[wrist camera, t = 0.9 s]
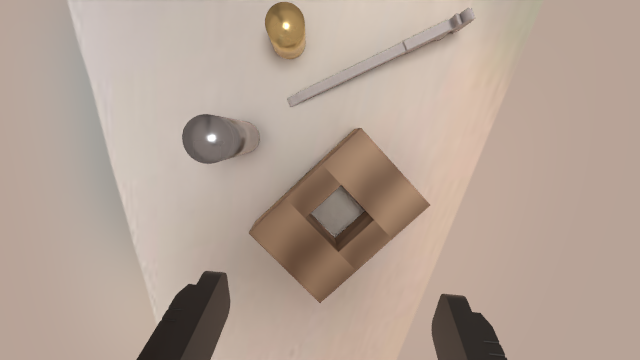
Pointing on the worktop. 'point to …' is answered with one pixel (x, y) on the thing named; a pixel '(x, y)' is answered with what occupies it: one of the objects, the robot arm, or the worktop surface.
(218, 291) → the robot arm
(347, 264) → the hole block
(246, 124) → the long pin
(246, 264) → the worktop surface
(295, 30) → the short pin
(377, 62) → the caliper
